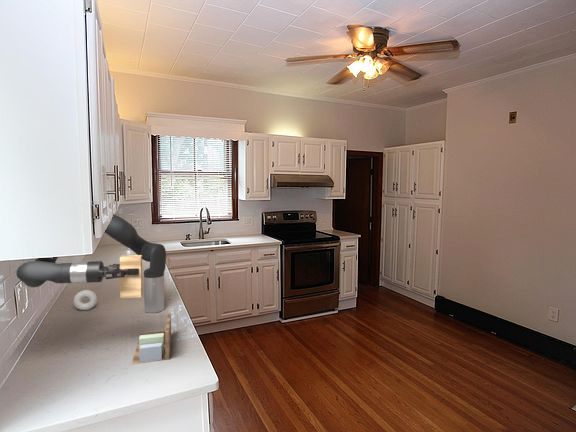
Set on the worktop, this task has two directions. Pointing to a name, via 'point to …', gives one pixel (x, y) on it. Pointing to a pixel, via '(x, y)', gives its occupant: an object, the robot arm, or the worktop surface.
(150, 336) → the offcut
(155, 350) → the offcut
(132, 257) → the light brown wooden block
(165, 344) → the rack
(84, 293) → the donut
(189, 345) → the worktop surface
